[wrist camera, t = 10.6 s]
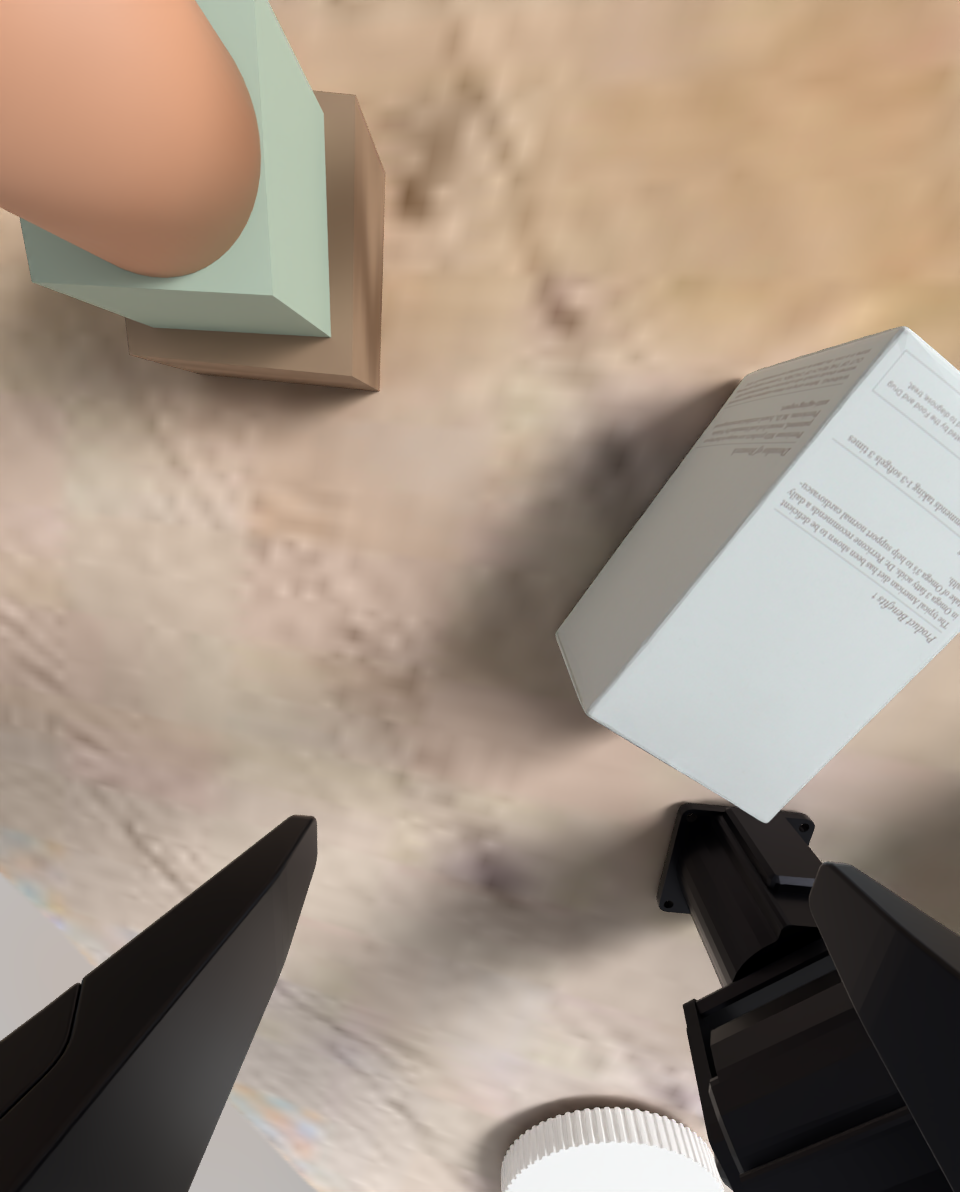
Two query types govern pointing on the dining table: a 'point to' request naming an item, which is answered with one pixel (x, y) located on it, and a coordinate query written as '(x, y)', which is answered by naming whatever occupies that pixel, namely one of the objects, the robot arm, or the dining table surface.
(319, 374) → the bottom block
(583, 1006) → the dining table surface
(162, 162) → the brown oval piece
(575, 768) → the dining table surface
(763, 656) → the supplement box
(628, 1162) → the plastic lid
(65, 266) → the top block
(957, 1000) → the robot arm
